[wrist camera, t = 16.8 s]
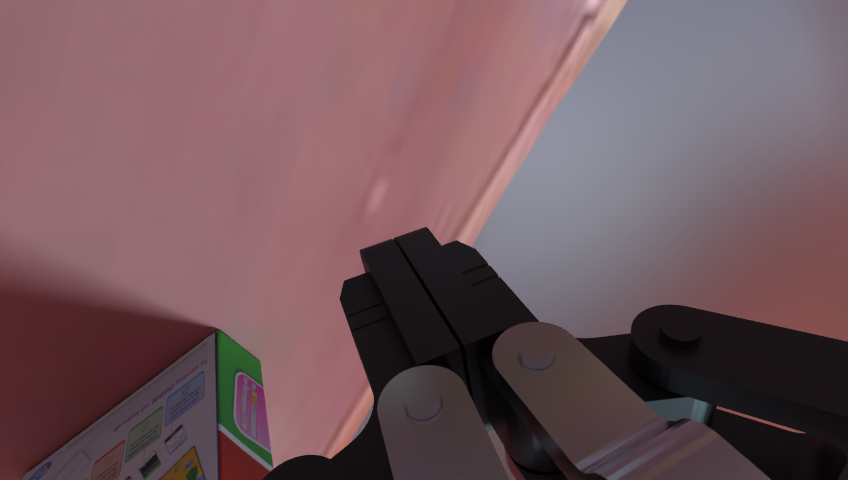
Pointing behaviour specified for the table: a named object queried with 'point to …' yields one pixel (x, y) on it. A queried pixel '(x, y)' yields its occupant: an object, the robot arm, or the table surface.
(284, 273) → the table surface
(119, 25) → the table surface
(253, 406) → the game box
